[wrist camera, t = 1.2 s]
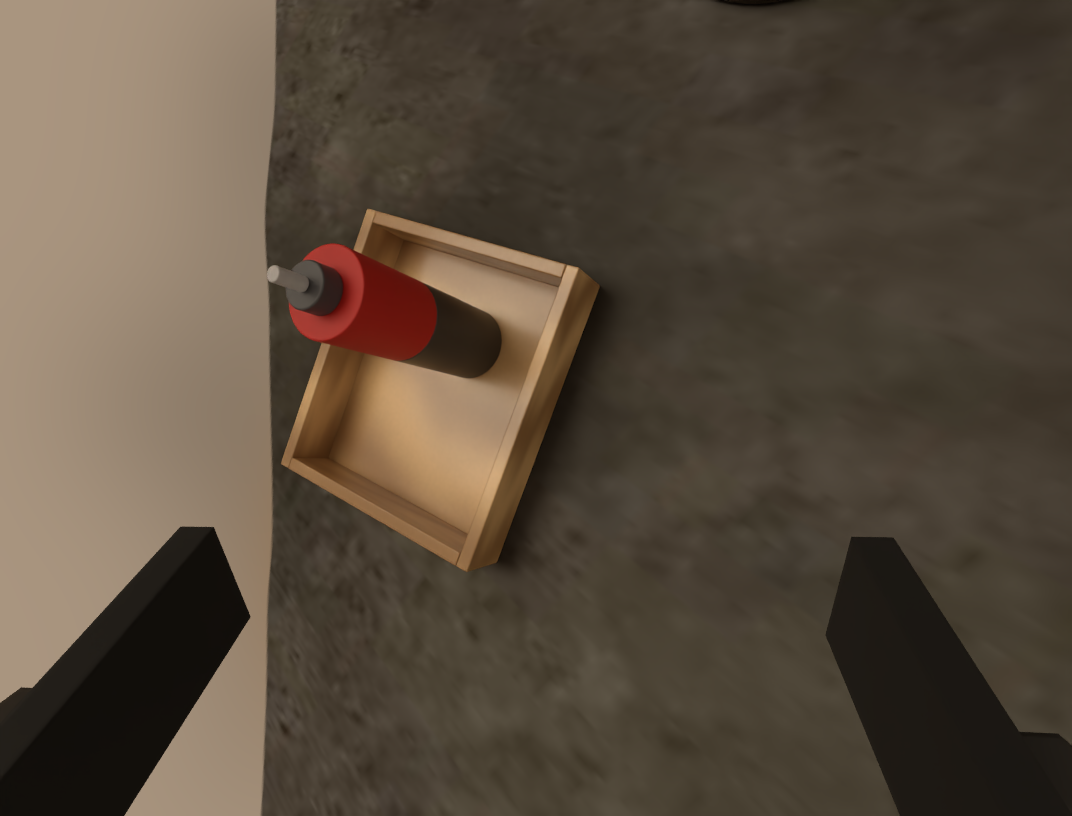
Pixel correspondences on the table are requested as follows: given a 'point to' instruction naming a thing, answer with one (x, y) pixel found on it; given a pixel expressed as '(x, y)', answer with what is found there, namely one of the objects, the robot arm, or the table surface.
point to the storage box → (445, 397)
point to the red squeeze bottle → (386, 313)
